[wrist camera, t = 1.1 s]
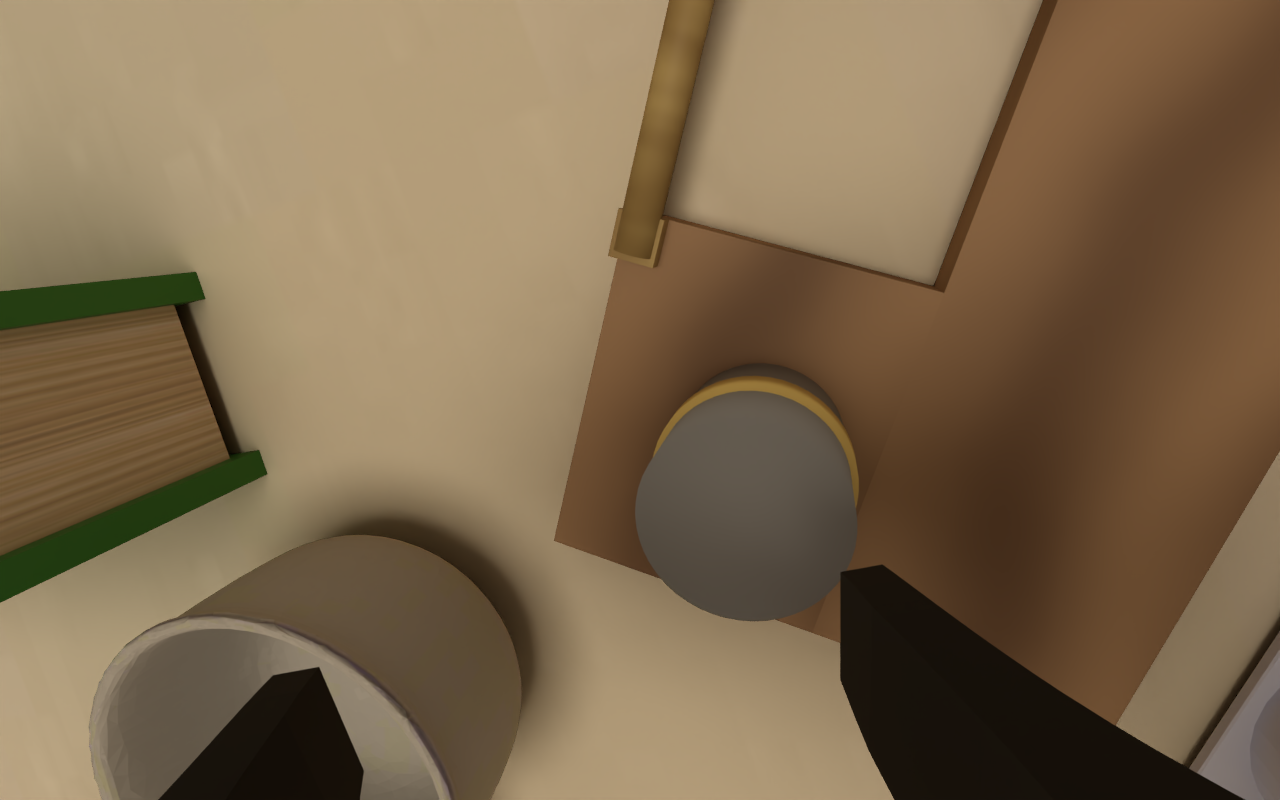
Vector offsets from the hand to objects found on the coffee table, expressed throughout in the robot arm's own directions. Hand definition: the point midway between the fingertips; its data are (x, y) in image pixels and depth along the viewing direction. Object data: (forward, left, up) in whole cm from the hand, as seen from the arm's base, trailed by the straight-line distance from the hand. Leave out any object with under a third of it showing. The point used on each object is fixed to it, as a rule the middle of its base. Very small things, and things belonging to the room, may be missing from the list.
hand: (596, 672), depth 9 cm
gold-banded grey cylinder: (-1, -1, -10) cm, 10 cm away
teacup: (+8, +12, -12) cm, 19 cm away
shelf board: (-4, -7, -11) cm, 14 cm away
